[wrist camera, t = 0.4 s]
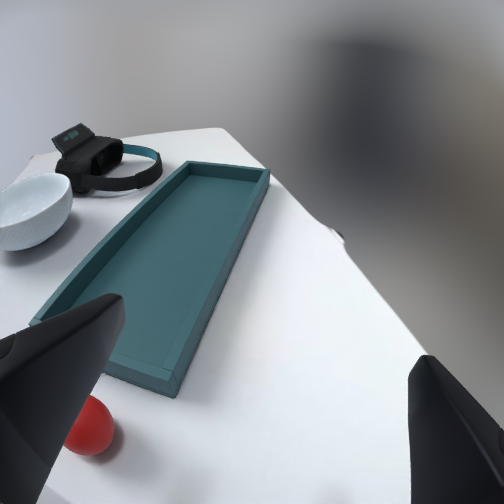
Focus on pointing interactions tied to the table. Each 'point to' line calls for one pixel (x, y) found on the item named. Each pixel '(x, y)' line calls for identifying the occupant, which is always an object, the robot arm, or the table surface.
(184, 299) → the tray
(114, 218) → the table surface
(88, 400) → the apple
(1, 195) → the cereal bowl
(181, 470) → the table surface
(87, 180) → the virtual reality headset
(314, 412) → the table surface
